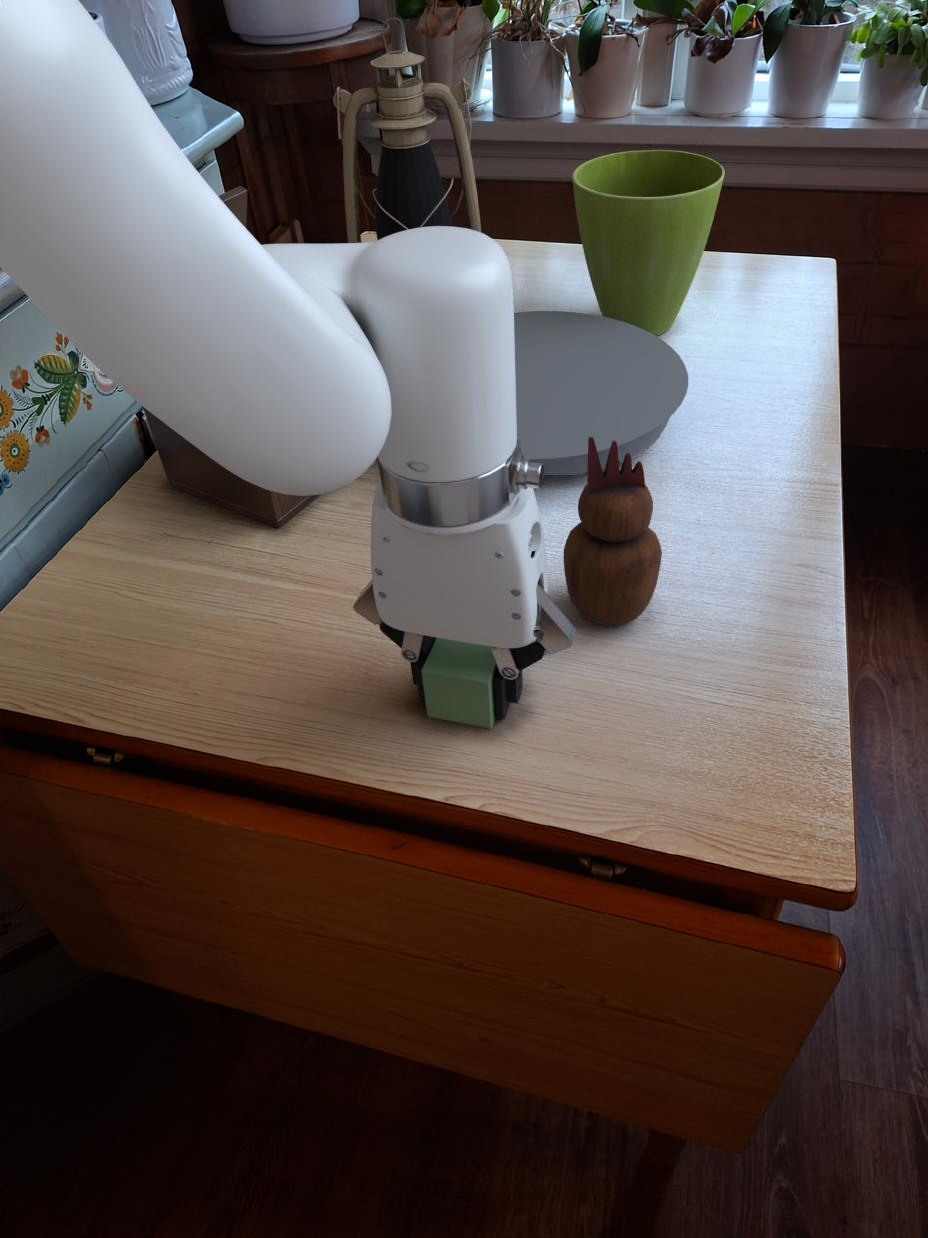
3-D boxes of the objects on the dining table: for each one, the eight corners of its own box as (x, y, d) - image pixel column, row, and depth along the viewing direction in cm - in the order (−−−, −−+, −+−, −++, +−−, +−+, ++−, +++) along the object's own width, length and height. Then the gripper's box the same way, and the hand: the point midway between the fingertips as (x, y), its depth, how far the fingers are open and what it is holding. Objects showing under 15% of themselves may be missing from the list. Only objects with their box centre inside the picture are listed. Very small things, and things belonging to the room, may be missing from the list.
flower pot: (547, 340, 100) (547, 187, 89) (601, 287, 109) (607, 143, 98) (678, 365, 94) (695, 205, 83) (723, 307, 103) (744, 156, 92)
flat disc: (345, 476, 83) (337, 434, 80) (451, 338, 102) (448, 300, 98) (651, 525, 75) (655, 480, 72) (705, 366, 93) (710, 325, 90)
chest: (368, 456, 85) (355, 370, 79) (279, 528, 78) (256, 440, 72) (261, 421, 91) (241, 339, 85) (169, 485, 83) (139, 400, 77)
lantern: (484, 298, 109) (470, -1, 88) (487, 343, 100) (473, 24, 80) (363, 306, 109) (321, 11, 89) (357, 352, 101) (309, 36, 80)
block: (427, 717, 61) (421, 670, 58) (447, 669, 64) (442, 623, 61) (491, 729, 60) (488, 683, 57) (509, 680, 63) (507, 634, 60)
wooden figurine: (555, 628, 66) (557, 453, 56) (572, 578, 70) (576, 406, 60) (648, 643, 65) (667, 465, 55) (660, 591, 69) (680, 416, 59)
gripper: (615, 452, 50) (601, 679, 62) (333, 421, 54) (373, 639, 67) (588, 534, 45) (579, 764, 57) (279, 493, 49) (333, 715, 61)
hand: (468, 695), depth 62 cm, fingers closed on block, 4 cm apart
